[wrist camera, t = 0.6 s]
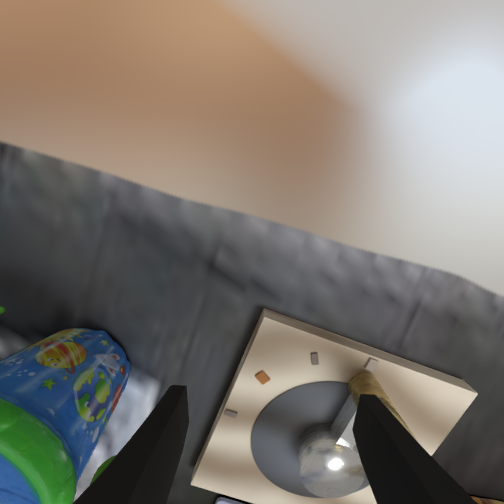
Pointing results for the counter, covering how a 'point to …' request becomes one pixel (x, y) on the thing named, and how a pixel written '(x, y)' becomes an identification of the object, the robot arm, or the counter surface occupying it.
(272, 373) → the dial housing
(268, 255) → the counter surface
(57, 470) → the snack cup
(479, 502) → the candy box
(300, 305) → the counter surface
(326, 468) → the gold and silver piece
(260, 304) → the counter surface
